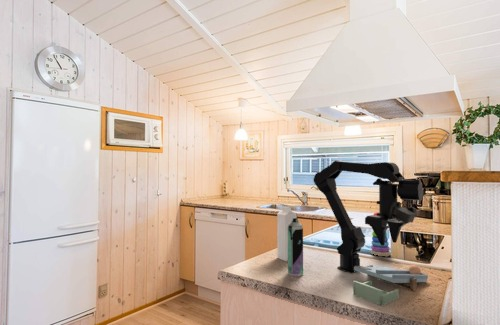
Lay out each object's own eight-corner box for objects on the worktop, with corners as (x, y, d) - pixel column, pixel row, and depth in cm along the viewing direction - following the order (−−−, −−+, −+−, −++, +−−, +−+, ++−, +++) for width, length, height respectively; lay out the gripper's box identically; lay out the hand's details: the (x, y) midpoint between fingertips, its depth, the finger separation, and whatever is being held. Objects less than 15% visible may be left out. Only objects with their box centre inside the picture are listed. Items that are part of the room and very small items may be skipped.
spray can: (300, 277, 104) (299, 219, 105) (285, 274, 107) (285, 218, 108) (305, 272, 109) (304, 217, 110) (291, 270, 112) (290, 216, 113)
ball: (406, 273, 101) (407, 262, 102) (411, 275, 103) (412, 264, 104) (416, 276, 98) (418, 265, 99) (421, 278, 100) (423, 267, 101)
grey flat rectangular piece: (353, 270, 100) (354, 262, 101) (387, 270, 111) (387, 263, 111) (394, 283, 89) (395, 274, 89) (427, 282, 100) (427, 274, 100)
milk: (285, 261, 123) (284, 207, 124) (277, 257, 128) (276, 206, 129) (297, 259, 126) (296, 206, 126) (288, 255, 131) (288, 205, 132)
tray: (353, 294, 90) (353, 281, 90) (370, 288, 95) (370, 275, 95) (381, 305, 82) (381, 291, 82) (398, 298, 87) (398, 284, 87)
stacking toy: (384, 252, 137) (384, 210, 137) (393, 257, 129) (393, 213, 129) (367, 252, 137) (367, 211, 137) (375, 257, 129) (375, 213, 129)
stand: (367, 275, 106) (367, 266, 106) (371, 274, 107) (371, 264, 107) (412, 290, 93) (412, 279, 93) (416, 288, 94) (416, 278, 94)
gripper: (395, 202, 92) (396, 253, 91) (426, 199, 102) (426, 245, 102) (363, 199, 101) (364, 245, 101) (394, 196, 111) (395, 238, 111)
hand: (388, 243), depth 103 cm, fingers open, 7 cm apart
